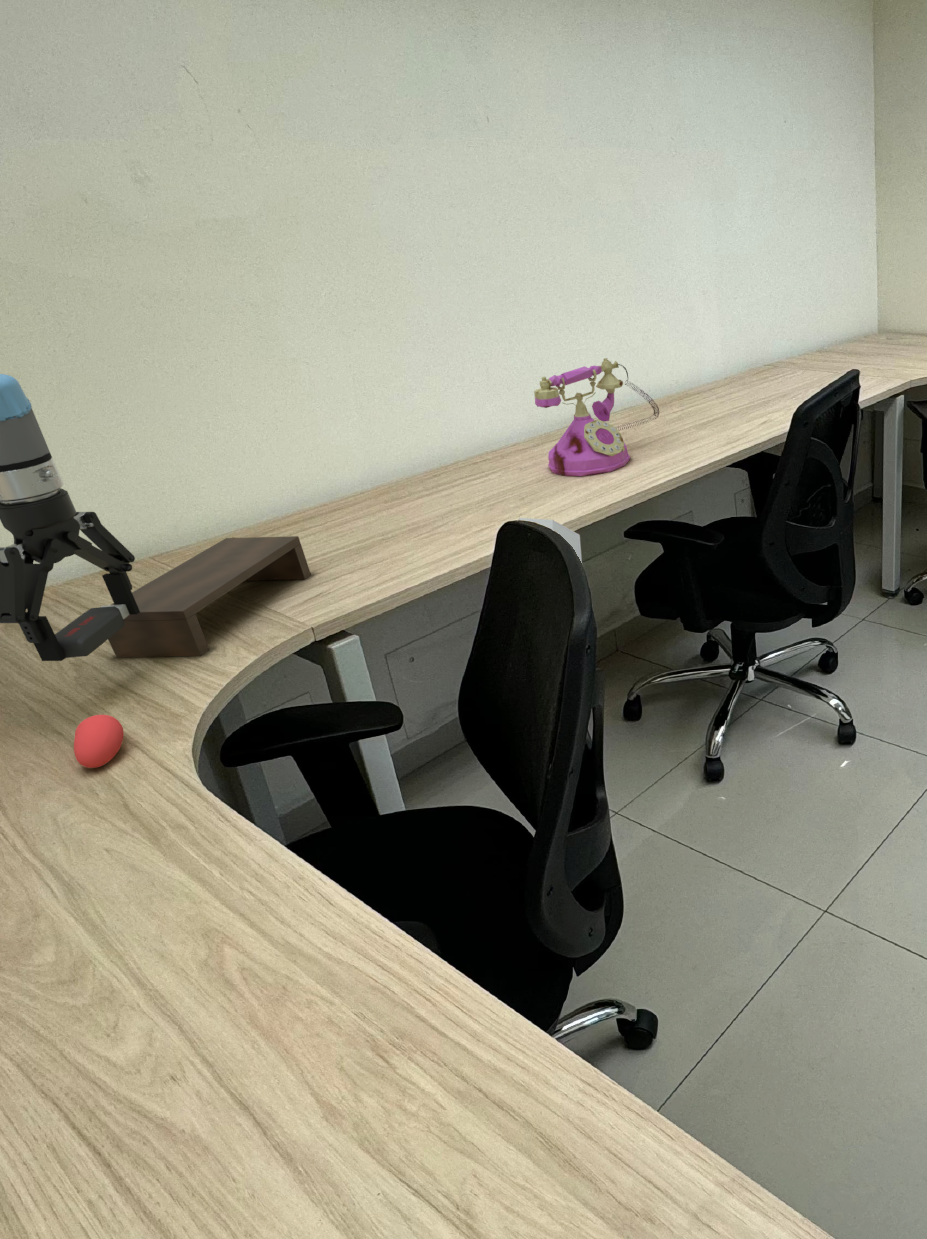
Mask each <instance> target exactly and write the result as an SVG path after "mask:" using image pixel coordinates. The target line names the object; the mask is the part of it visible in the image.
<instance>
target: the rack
mask: <svg viewBox="0 0 927 1239" xmlns="http://www.w3.org/2000/svg"><path fill="white" fill-rule="evenodd" d="M310 576H311V570H310V568H309V564H308V561H307V558H306V555H305V552H304V549H303V546H302V542H301V539H300V537H299V536H298V535H296V536H295V535H294V536H293V535H292V536H291V535H290V536H257V537H256V536H253V537H252V536H251V537H226V538H224V539H222V540H220V541H218V542H217V543H215V544H213V545H212V546H210V547H208V548H206V549H205V550H203V551H201V552H199V553H198V554H196V555H194V556H192V557H191V558H189V559H187V560H186V561H184V562H182V563H180V564H179V565H177V566H175V567H174V568H172V569H170V570H168V571H167V572H165V573H162V575H160V576H158V577H156V578H154V579H152V580H151V581H149V582H147V583H146V584H144V585H143V586H141V587H139V588H137V589H135V590H134V591H131V592H132V594H133V596H134V599H135V601H136V603H137V606H138V608H139V611H140V613H138V614H134V615H128V616H127V617H126V618H125V619H124V622H125V625H124V627H122V628H121V629H120V630H119V631H118V632H116V633H115V634H114V635H113V636H111V637H110V638H109V639H108V640H107V641H108V642H109V644H110V645H109V646H110V647H111V649H112V651H113V653H114V656H115V658H151V657H152V658H158V657H201V656H203V655H204V654H206V653H207V652H208V651H210V647H209V644H208V642H207V640H206V636H205V635H204V631H203V629H202V627H201V624H200V622H199V619H198V616H197V615H196V614H197V613H199V612H200V611H202V610H203V609H204V608H206V607H208V606H209V605H211V604H212V603H214V602H215V601H217V600H218V599H219V598H221V597H222V596H224V595H225V594H227V593H228V592H230V591H232V590H233V589H235V588H236V587H237V586H239V585H241V584H242V583H243V582H246V581H282V580H283V581H285V580H306V579H307V578H309V577H310ZM110 605H115V604H114V602H113V603H111V604H110Z"/></svg>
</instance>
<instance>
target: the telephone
mask: <svg viewBox="0 0 927 1239" xmlns="http://www.w3.org/2000/svg"><path fill="white" fill-rule="evenodd" d="M619 367H622V368H623V369H624V370H625V372H626V377H627V379H626V380H625V382H624V381H623V380H622V379H618V377H617V376H615V375H614V374H613V370H614V369H618V368H619ZM602 373H603V374H604V375H603V376H602V377H601V379H600V380H599V381H598V382H597V384H596V380H597V376H599V375H600V374H602ZM540 379H541V380H540V381H539V386H540V388H536V389H535V390H534V391H533V393H534V404H535V406H536V407H537V408H544V409H548V408H551V407H559V406H560V404H564V405H574V406H575V411H574V414H573V420H572V422H571V423H570V424H569V426H568V427H567V428H566V430H565V431H564V432H563V434H562V435H561V436H560V438H559V440H558V441H557V442H556V443H555V445H554V446H553V447H552V448H550V450H549V451H548V456H547V460H548V467H549V469H550V471H551V472H552V473H553V474H556V475H559V476H566V477H585V476H586V477H587V476H591V475H592V476H593V475H598V474H606V473H611V472H614V471H616V470H619V469H620V468H623V467H625V466H626V465H627V463H628V462H629V461H630V459H631V457H630V454H629V453H628V447H627V444H626V443H625V441H624V438H623V435H622V433H621V432H620V431H622V430H628V429H631V428H632V429H633V428H634V427H639V425H641V426H642V425H646V424H648V421H647V420H649V423H650V422H653V421H655V420H657V419H658V418H659V416H660V408H659V406H658V404H657V403H656V402H655V400H654V399H653V398H652V397H650V395H649V394H648V393H647V392H645V391H644V390H643V389H639V387H638V386H637V385H635V384H634V383H633V382H631V381H629V373H628V369H627V368H626V367H625V366H624V365H622V364H620V363H619V362H618V361H617V360H615V361H614V362H613V363H612V361H611V360H609V359H608V358H607V357H605V358H603V361H602V362H601V365H590V367H587V366H581V367H579V368H575V369H572V370H569V371H565V372H562V373H561V374H560V375H556V374H554V375H553V376H550V377H549V378H547V376H541V378H540ZM584 380H588V382H589V385H590V387H591V391H589V392H586V393H581V392H576V393H575V395H574V396H573V397H569V398H566V396H565V394H566V391H565V389H566V386H568V385H571V384H574V383H577V382H581V381H584ZM561 385H562V386H561ZM624 385H625V386H626V387H629V388H632V390H633V391H634V392H636V393H637V394H638V395H640V396H641V397H642V398H643V399H644V400H647V402H648V404H649V405H650V406H651V408H652V410H653V414H651V415H650V417H645V418H641V419H639V420H635V421H632V422H627V424H626V423H623V427H622V424H621V425H617V427H616V426H614V425H613V424H611V423H609V421H610V417H611V412H612V410H613V408H614V407H615V391H616V389H619V388H622V387H623V386H624ZM595 388H597V389H600V390H605V391H606V393H607V394H606V397H605V398H604V399H603V400H602V401H600V400H596V401H594V402H592V405H591V409H592V411H593V414H594V416H595V417H596V418H597V419H594V418H593V417H592V415H591V413H589V411H588V408H587V406H586V404H585V402H586V401H587V400H589V399H590V398H592V397H594V396H595V394H596V393H597V392H595ZM589 395H590V396H589ZM587 396H589V397H587ZM584 397H586V398H585V400H584V402H583V399H584ZM562 400H563V401H564V402H562ZM573 400H576V404H575V403H574V402H570V403H565V402H568V401H573ZM632 424H633V425H632Z"/></svg>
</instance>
